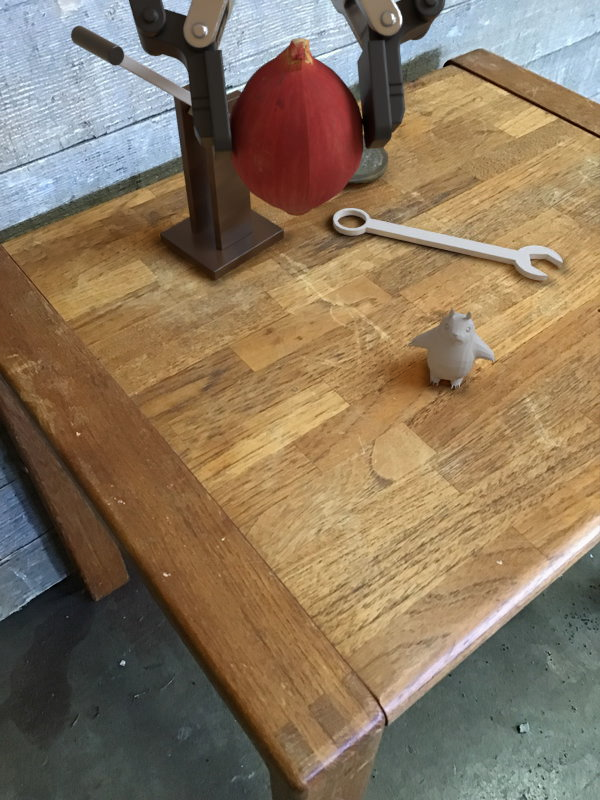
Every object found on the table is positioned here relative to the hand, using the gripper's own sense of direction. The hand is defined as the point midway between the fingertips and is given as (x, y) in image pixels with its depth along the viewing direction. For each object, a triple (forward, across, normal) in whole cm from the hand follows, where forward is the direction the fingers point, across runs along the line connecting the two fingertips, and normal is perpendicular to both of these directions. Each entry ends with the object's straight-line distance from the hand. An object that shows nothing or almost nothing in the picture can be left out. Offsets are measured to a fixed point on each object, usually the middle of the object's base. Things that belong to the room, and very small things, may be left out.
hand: (302, 148), depth 30 cm
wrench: (0, +21, +48) cm, 53 cm away
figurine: (+13, +16, +36) cm, 41 cm away
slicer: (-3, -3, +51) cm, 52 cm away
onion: (+2, 0, +4) cm, 5 cm away
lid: (-11, +13, +60) cm, 62 cm away
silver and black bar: (-14, -7, +36) cm, 39 cm away
